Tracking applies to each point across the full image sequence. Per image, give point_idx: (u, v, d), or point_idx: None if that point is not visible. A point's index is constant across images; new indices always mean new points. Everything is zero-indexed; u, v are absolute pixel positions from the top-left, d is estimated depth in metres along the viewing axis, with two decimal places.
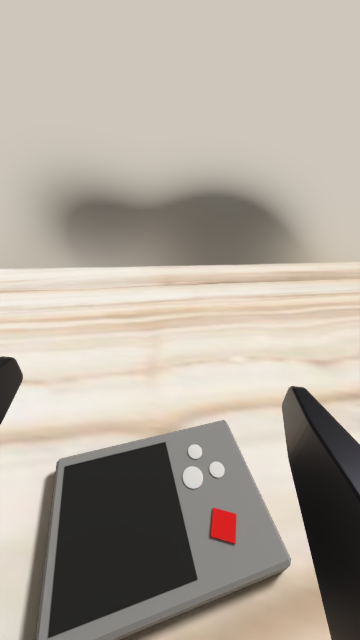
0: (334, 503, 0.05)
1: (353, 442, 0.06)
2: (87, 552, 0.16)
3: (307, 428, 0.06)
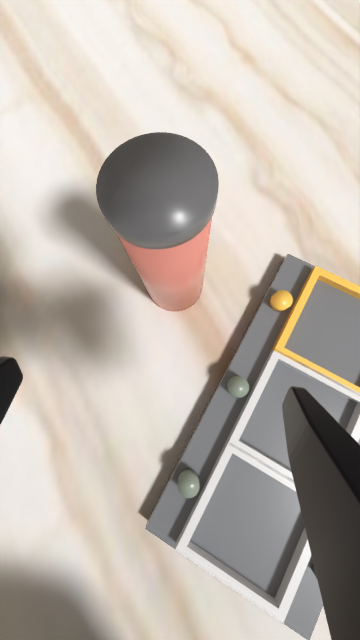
0: (334, 503, 0.05)
1: (353, 441, 0.06)
2: None
3: (307, 428, 0.06)
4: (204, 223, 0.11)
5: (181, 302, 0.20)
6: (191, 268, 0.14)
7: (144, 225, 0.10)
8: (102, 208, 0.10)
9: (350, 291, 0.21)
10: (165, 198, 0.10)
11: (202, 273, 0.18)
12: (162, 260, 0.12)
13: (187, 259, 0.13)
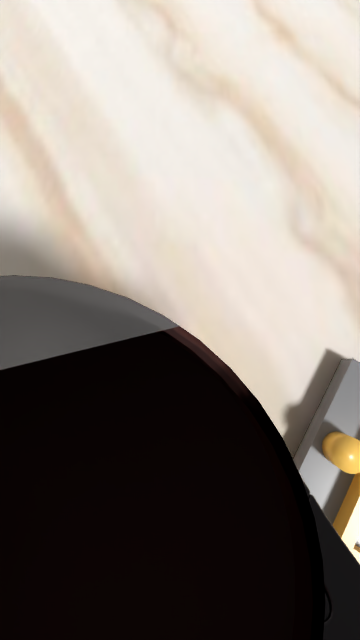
0: None
1: None
2: None
3: None
4: None
5: None
6: None
7: None
8: None
9: None
10: None
11: None
12: None
13: None
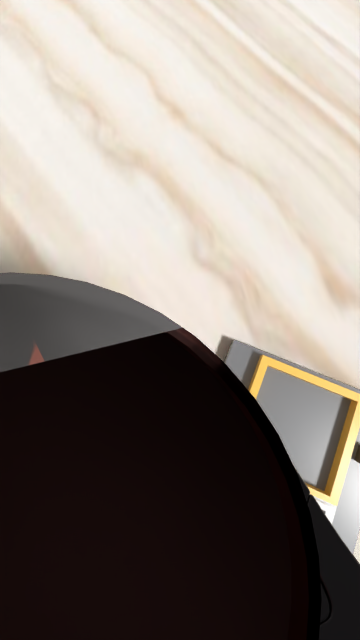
0: None
1: None
2: None
3: None
4: None
5: None
6: None
7: None
8: None
9: (302, 379, 0.19)
10: None
11: None
12: None
13: None
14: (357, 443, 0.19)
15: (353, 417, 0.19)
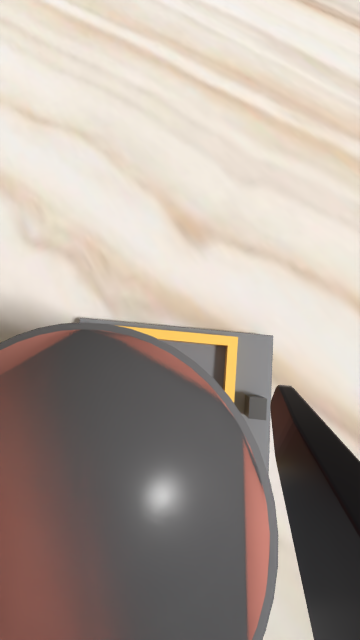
0: (316, 500, 0.05)
1: (337, 439, 0.06)
2: None
3: (292, 426, 0.06)
4: None
5: None
6: None
7: None
8: None
9: (162, 339, 0.16)
10: (95, 592, 0.03)
11: None
12: None
13: None
14: (243, 393, 0.16)
15: (226, 365, 0.15)
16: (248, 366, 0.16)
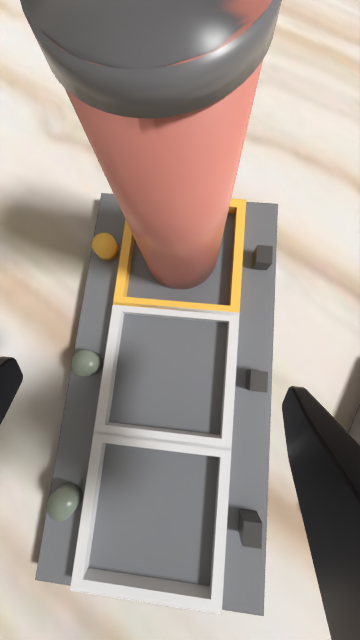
0: (334, 503, 0.05)
1: (353, 441, 0.06)
2: None
3: (307, 428, 0.06)
4: (253, 54, 0.05)
5: (190, 274, 0.15)
6: (210, 202, 0.09)
7: (119, 44, 0.04)
8: (29, 15, 0.05)
9: None
10: None
11: (223, 226, 0.12)
12: (160, 165, 0.06)
13: (207, 172, 0.07)
14: (251, 251, 0.17)
15: (236, 223, 0.17)
16: (255, 229, 0.18)
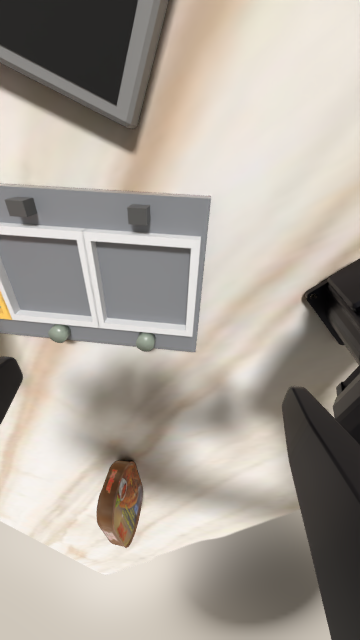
0: (334, 503, 0.05)
1: (353, 441, 0.06)
2: (65, 24, 0.12)
3: (307, 428, 0.06)
4: None
5: None
6: None
7: None
8: None
9: None
10: None
11: None
12: None
13: None
14: None
15: None
16: None
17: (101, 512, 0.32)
